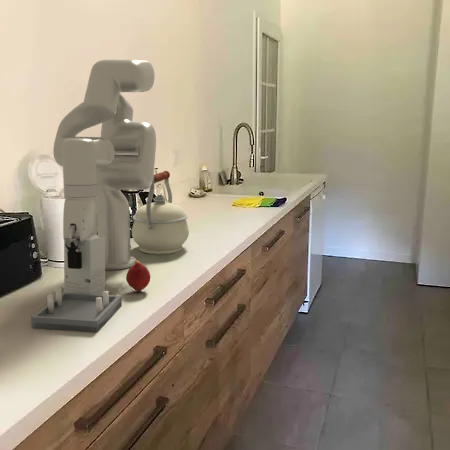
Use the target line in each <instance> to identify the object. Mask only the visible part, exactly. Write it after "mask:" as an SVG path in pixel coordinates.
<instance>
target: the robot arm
mask: <svg viewBox="0 0 450 450" xmlns="http://www.w3.org/2000/svg"><path fill="white" fill-rule="evenodd" d="M154 84H155V70H154V67H153V65H152V64H151V63H150V61H148V60H138V59H102V60H98V61H97V62H95V63H94V64H93V65H92V68H91V70H90V73H89V77H88V81H87V86H86V90H85V94H84V99H83V102H81V103H80V104H78V105H77V106H75V107H74V108H73V109H72V110H71V111H69V112H68V113H67V114H66V115H65V116H64V117H63V119H62V120H61V121H60V122H59V125H58V127H57V129H56V130H57V131H56V134H55V138H54V143H53V151H52V153H53V158H54V160H55V162H56V164H57V165H58V166H60V167H62V175H63V176H62V177H63V198H64V204H63V216H62V217H63V218H62V222H63V223H62V224H63V225H62V227H63V228H62V229H63V230H62V235H63V236H62V237H63V242H64V241H65V246H66V251H67V258H68V268H70V269H81V268H82V252H80V248H81V244H82V242H84V241H86V240H87V239H88V238H90V237H91V236H93V235H100V236H105V271H106V270H109V271H110V270H111V271H112V270H122V269H123V270H124V269H128V268H131V267H132V266H133V265H134V264H135V261H136V260H137V259H136V257H134V256H132V253H131V249H132V245H131V228H130V227H131V225H130V223H131V217H130V204H129V201H128V199H127V197H126V196H125V194H124V193H123V192H122V191H124V190H125V191H126V190H131V191H133V190H134V191H135V190H136V191H141V190H148V189H150V186H151V184H152V181H153V175H155V174H154V173H155V163H156V162H155V161H156V149H157V135H156V130H155V128H154V126H153V125H152V124H151V123H149V122H146V121H145V122H144V121H133V118H134V117H133V116H134V109H133V107H132V105H131V103H130V102H129V100H127V98H126V97H125V96H124V95H122V93H145V92H148V91H150V90H152V88H153V87H154ZM100 124H101V130H100V137H99V136H77V135H79V134H80V133H81V132H83V131H85V130H87V129H89V128H92V127H95V126H98V125H100ZM121 190H122V191H121ZM77 238H79V239H77ZM75 243H77V246H76V245H75Z"/></svg>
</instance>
